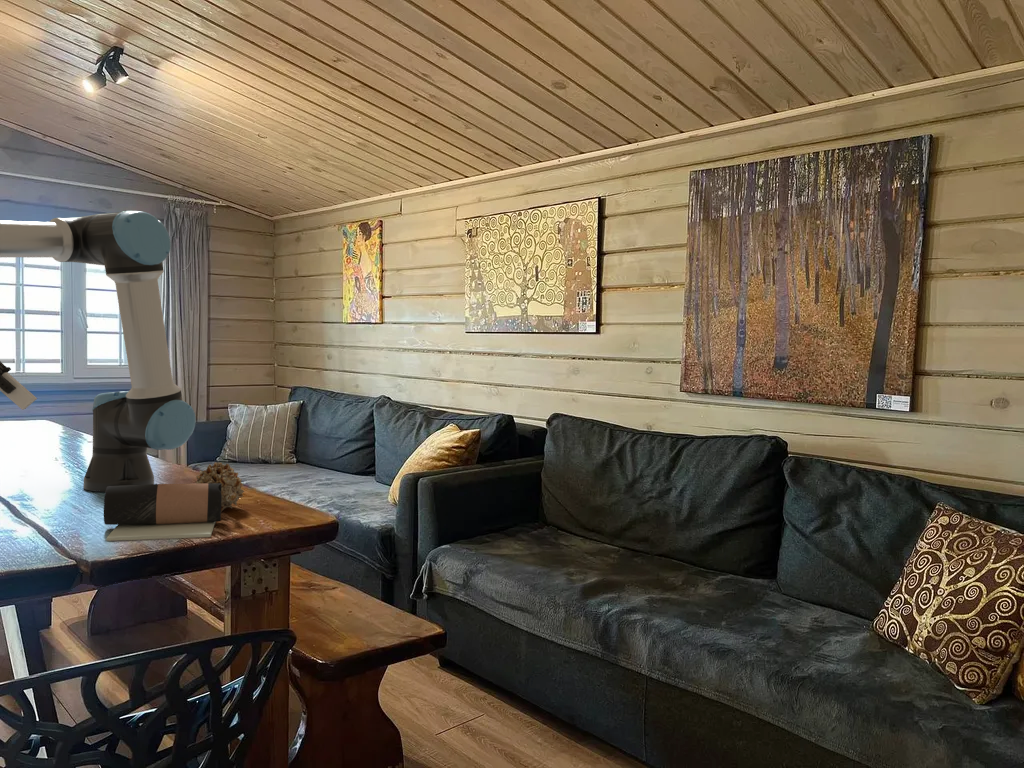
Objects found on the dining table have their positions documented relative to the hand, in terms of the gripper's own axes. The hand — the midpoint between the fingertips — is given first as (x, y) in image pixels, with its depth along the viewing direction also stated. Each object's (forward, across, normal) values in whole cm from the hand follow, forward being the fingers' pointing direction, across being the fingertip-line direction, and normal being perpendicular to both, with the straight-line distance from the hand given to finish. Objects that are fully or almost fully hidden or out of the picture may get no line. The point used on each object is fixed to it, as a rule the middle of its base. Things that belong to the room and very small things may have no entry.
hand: (29, 404), depth 130 cm
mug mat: (+32, 0, -1) cm, 32 cm away
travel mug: (+22, -2, -5) cm, 22 cm away
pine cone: (+39, -15, +5) cm, 42 cm away
